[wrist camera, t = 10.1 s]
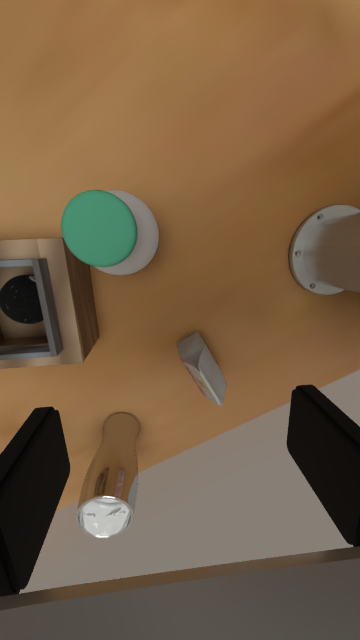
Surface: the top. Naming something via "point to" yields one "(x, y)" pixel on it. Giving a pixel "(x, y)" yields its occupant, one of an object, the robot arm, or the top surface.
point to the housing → (48, 305)
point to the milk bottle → (110, 231)
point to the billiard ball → (21, 300)
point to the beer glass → (111, 481)
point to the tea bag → (202, 367)
